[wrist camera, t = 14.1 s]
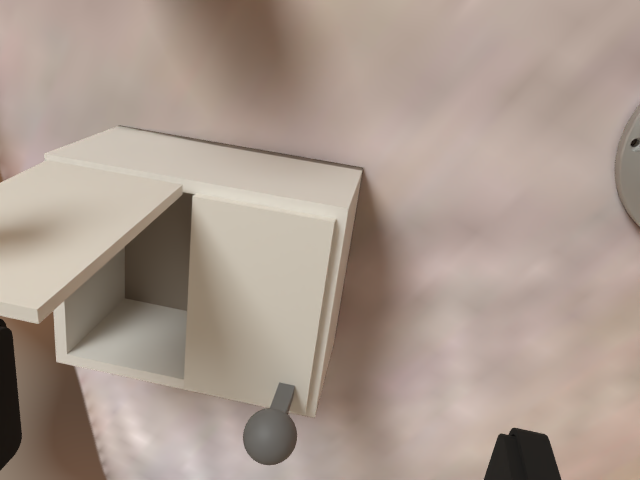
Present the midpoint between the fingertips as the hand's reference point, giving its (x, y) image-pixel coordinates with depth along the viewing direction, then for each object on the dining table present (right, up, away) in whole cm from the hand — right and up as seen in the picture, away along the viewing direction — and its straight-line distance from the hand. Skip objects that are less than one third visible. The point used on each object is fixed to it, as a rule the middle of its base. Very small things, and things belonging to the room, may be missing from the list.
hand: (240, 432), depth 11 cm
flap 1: (-11, +4, +16) cm, 20 cm away
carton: (-5, +4, +33) cm, 33 cm away
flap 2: (-2, -1, +24) cm, 24 cm away
